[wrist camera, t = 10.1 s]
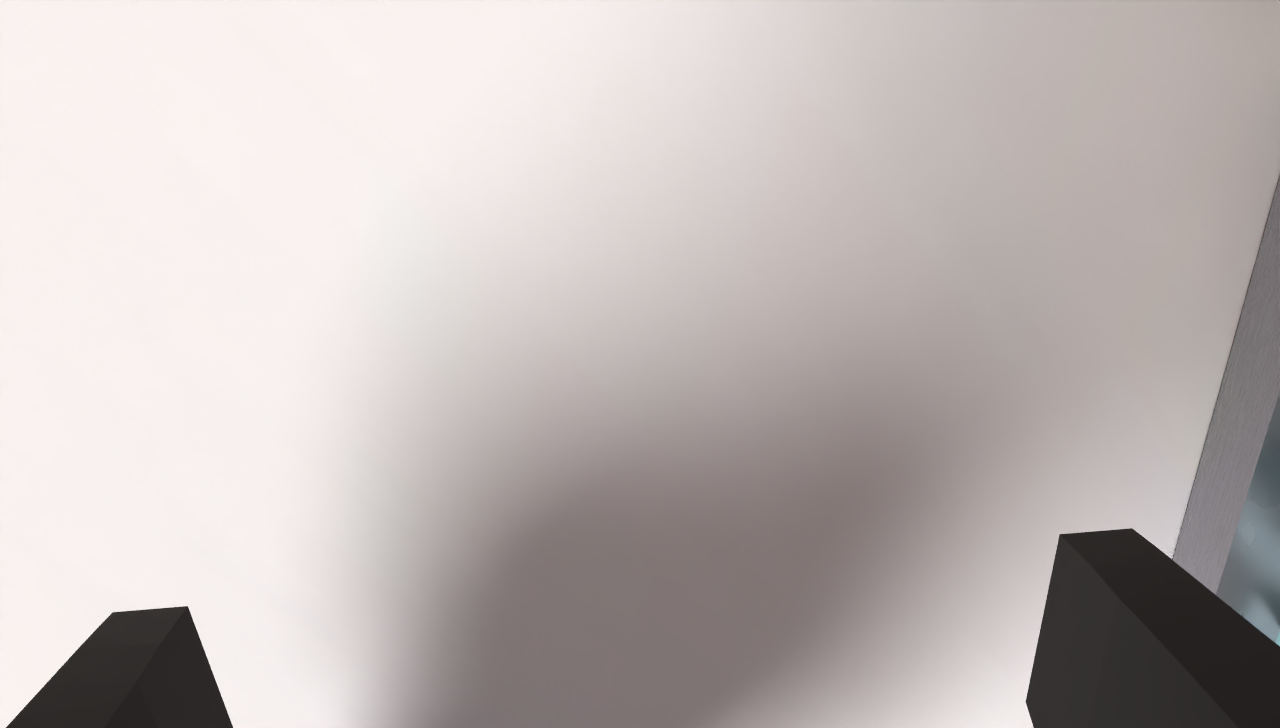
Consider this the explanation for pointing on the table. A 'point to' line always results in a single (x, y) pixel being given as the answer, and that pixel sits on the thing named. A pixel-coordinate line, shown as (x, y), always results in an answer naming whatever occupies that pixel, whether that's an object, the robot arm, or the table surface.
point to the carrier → (1244, 460)
